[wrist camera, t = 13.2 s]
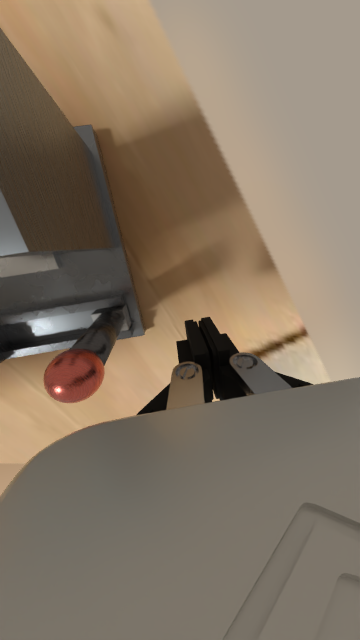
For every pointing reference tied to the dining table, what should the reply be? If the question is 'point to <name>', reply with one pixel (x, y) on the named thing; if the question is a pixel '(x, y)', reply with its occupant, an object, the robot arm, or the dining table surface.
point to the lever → (86, 357)
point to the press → (53, 222)
